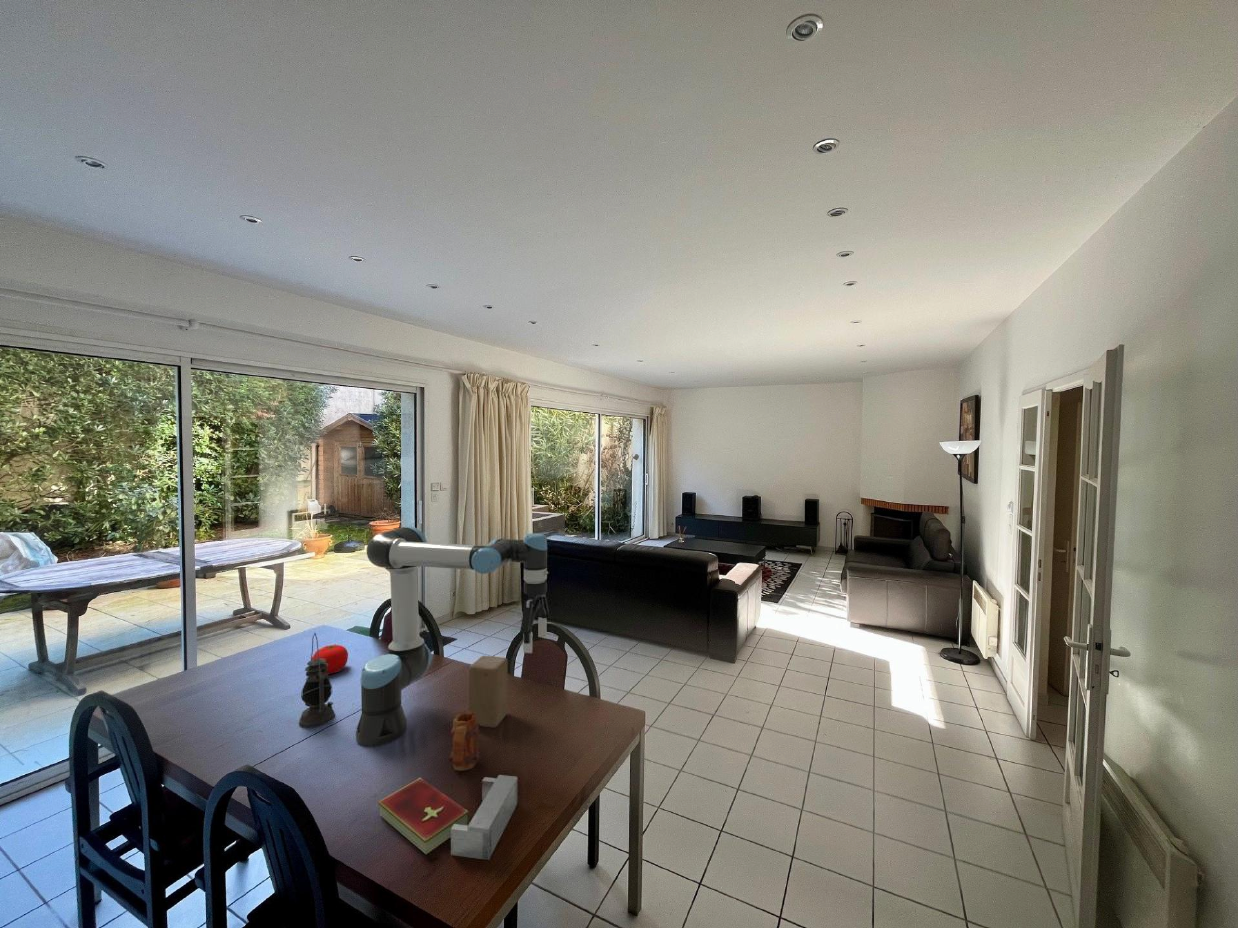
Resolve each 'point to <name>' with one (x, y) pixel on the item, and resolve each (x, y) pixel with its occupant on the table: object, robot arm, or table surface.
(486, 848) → the end cap
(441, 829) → the hardcover book
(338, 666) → the tomato
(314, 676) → the lantern
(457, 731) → the mug
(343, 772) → the table surface
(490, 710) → the wooden block
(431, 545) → the robot arm
